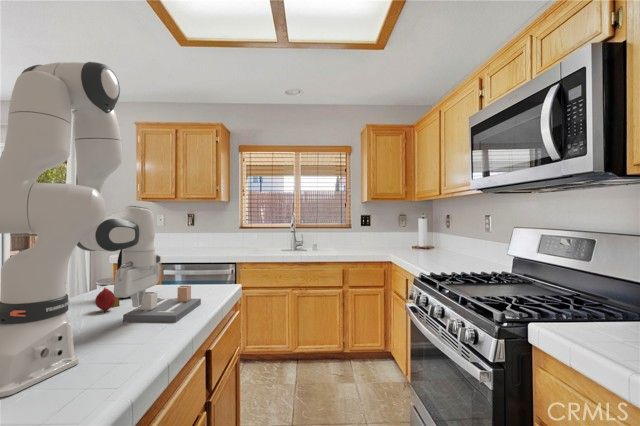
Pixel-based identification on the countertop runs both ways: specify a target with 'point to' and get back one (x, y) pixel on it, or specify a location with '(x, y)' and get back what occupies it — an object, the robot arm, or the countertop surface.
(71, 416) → the countertop surface
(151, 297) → the block
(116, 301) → the medication box
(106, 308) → the onion
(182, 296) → the fader
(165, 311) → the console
